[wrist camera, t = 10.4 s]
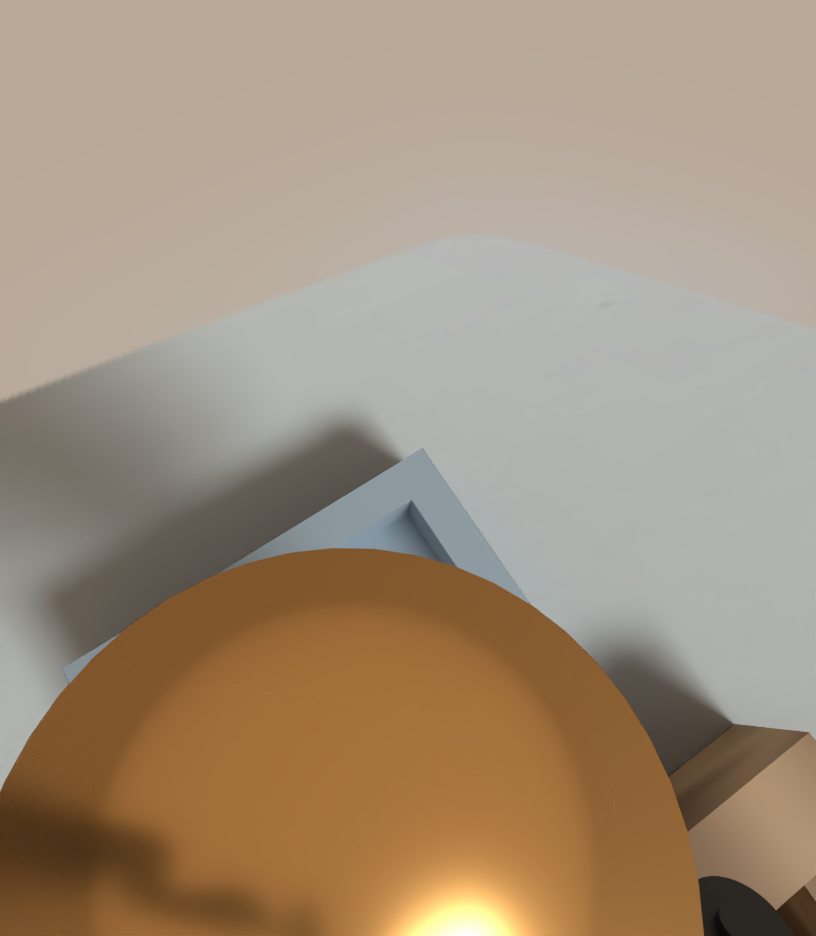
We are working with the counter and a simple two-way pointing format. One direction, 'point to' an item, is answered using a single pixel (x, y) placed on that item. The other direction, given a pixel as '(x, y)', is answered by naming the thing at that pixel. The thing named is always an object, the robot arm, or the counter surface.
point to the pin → (343, 770)
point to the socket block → (756, 816)
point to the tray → (387, 528)
